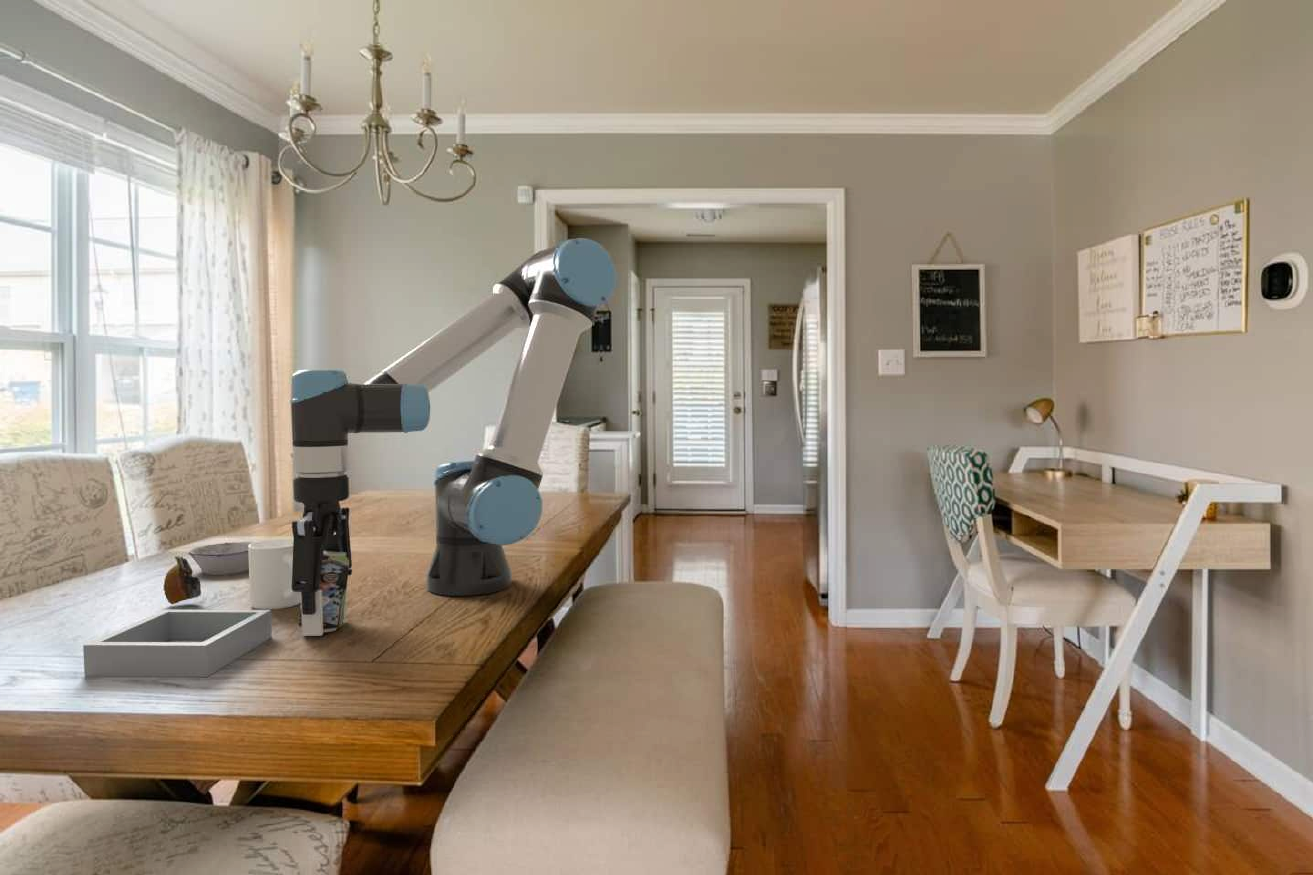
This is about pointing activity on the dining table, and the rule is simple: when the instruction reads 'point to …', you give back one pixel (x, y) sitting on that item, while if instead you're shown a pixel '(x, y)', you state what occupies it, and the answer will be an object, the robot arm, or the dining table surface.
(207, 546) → the bowl
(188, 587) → the rock
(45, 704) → the dining table surface
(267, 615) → the corral
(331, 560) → the beverage can
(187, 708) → the dining table surface
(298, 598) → the mug
